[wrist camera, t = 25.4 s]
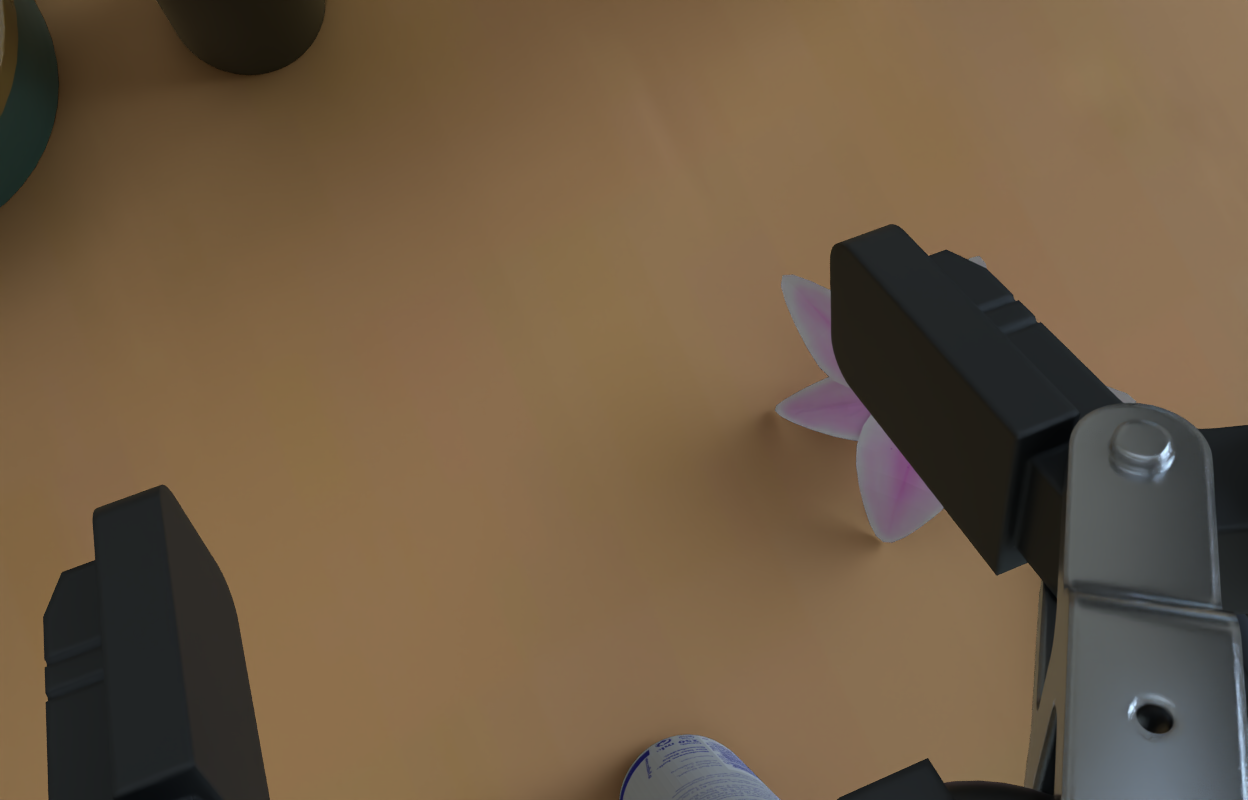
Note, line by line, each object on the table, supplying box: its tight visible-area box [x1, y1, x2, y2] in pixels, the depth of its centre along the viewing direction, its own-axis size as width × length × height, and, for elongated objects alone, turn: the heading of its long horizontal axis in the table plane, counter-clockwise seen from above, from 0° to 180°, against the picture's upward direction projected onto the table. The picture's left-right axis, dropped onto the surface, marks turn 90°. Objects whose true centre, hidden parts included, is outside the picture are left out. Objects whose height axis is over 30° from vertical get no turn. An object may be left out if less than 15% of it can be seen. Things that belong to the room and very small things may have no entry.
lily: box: [775, 256, 1136, 542], centre depth 43 cm, size 12×12×10 cm
